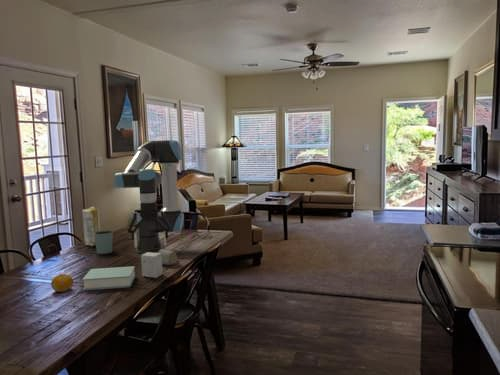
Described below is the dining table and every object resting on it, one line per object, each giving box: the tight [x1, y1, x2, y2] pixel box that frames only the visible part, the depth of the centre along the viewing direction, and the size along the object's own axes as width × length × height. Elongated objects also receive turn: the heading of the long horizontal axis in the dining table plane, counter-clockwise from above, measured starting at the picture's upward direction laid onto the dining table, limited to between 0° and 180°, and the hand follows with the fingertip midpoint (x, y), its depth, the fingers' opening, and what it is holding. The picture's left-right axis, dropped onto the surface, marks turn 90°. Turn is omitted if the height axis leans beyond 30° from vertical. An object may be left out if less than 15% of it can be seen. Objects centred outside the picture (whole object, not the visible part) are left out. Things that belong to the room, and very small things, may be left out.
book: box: [82, 265, 136, 291], centre depth 177 cm, size 14×20×5 cm
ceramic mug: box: [157, 248, 178, 266], centre depth 204 cm, size 11×8×8 cm
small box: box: [140, 252, 164, 278], centre depth 185 cm, size 8×6×10 cm
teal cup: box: [94, 230, 114, 255], centre depth 228 cm, size 10×10×12 cm
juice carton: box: [82, 206, 101, 247], centre depth 246 cm, size 9×8×24 cm
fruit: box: [50, 273, 74, 293], centre depth 169 cm, size 8×8×8 cm
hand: (150, 246), depth 184 cm, fingers open, 13 cm apart
